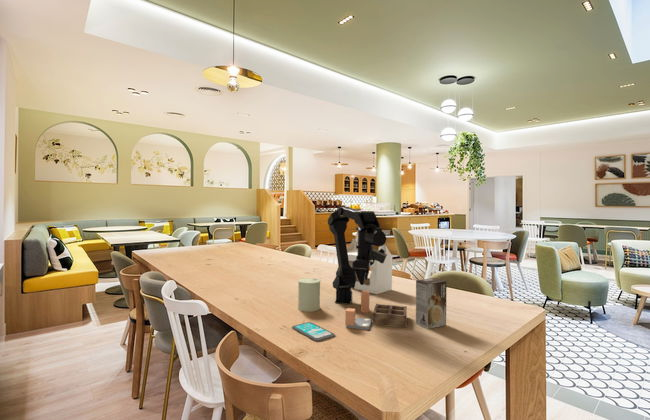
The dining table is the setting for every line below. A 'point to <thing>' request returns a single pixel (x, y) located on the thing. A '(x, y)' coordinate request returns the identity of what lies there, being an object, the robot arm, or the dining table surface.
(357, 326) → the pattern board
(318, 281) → the can
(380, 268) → the gable box
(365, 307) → the peg
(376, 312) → the socket block
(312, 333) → the smartphone
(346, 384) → the dining table surface
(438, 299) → the coffee box
